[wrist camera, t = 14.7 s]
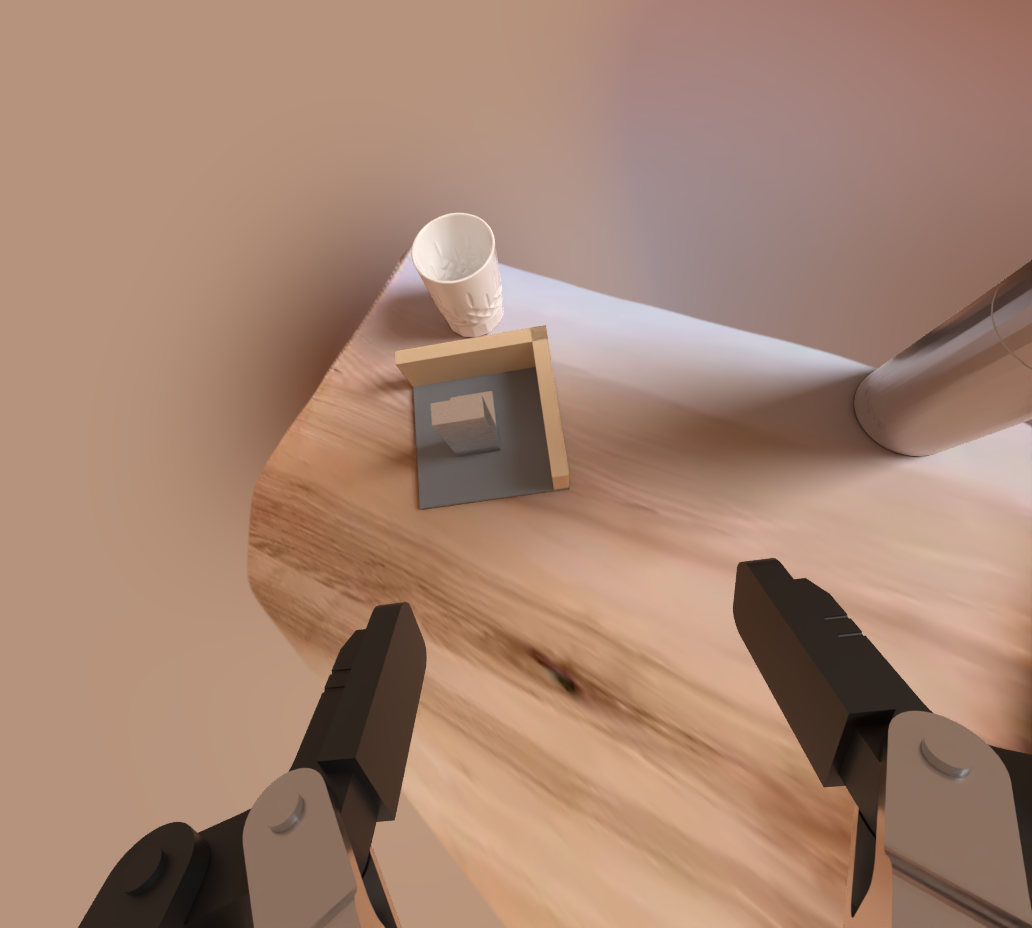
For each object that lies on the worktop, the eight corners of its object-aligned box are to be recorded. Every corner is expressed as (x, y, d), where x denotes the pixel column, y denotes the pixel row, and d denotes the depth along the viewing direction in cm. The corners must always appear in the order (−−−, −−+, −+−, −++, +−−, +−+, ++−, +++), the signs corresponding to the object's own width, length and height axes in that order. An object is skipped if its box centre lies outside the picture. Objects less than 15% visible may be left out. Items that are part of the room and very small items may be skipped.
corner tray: (548, 355, 47) (545, 325, 42) (569, 489, 43) (569, 474, 37) (414, 377, 48) (395, 351, 43) (421, 509, 44) (401, 498, 38)
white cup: (450, 351, 48) (421, 294, 39) (434, 295, 51) (403, 228, 41) (517, 329, 48) (504, 266, 39) (498, 274, 51) (481, 201, 41)
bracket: (494, 396, 46) (477, 352, 37) (500, 450, 44) (484, 417, 35) (453, 403, 46) (427, 361, 37) (458, 456, 44) (432, 425, 36)
